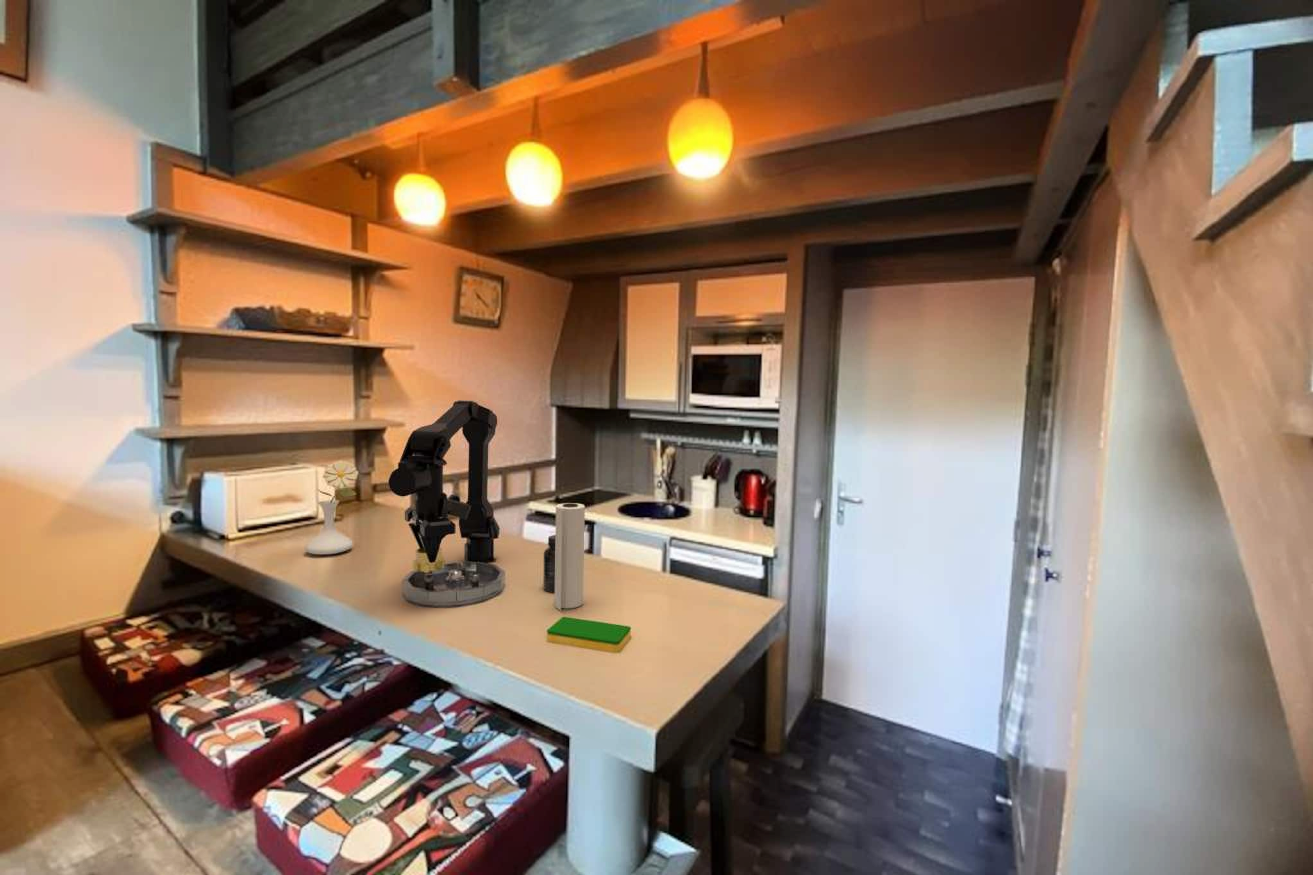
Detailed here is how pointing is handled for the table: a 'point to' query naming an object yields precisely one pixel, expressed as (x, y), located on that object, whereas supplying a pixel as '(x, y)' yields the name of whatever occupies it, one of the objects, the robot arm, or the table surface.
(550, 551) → the supplement bottle
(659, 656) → the table surface
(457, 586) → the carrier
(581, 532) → the paper towel roll
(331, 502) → the flower in vase
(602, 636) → the dish sponge
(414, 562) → the planet gear
